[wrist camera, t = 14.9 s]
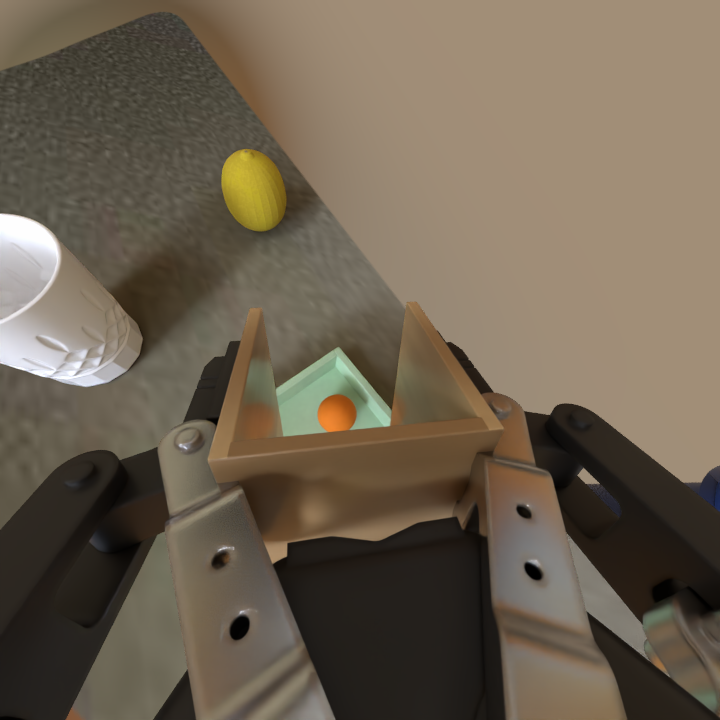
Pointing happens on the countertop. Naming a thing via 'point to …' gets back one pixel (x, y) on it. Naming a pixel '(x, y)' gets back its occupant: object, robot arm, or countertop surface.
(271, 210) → the lemon
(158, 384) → the countertop surface
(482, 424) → the open wooden box
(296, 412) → the tray
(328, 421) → the ball
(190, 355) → the countertop surface
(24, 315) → the white cup
